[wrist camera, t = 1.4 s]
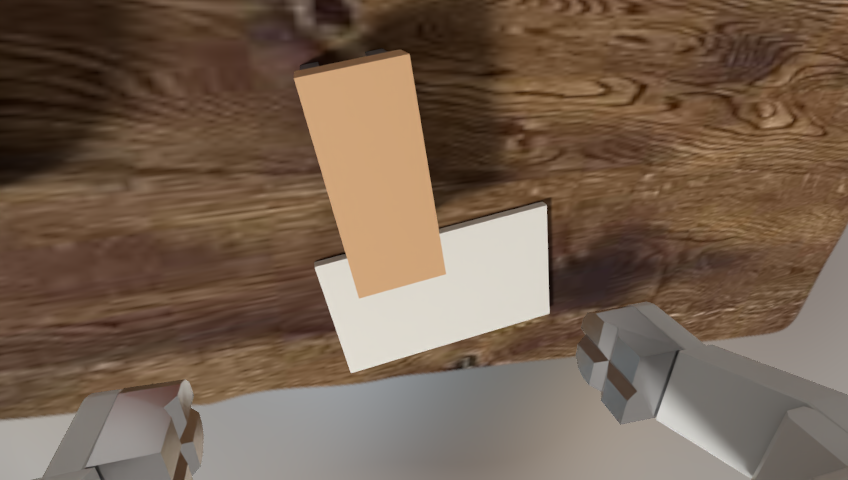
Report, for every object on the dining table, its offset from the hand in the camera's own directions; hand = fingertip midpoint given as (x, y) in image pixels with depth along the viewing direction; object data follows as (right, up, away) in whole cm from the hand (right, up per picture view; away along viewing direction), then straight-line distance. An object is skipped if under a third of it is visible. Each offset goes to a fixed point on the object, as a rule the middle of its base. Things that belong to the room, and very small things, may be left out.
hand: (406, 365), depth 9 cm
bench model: (-4, +9, +24) cm, 26 cm away
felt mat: (+2, -2, +31) cm, 32 cm away
